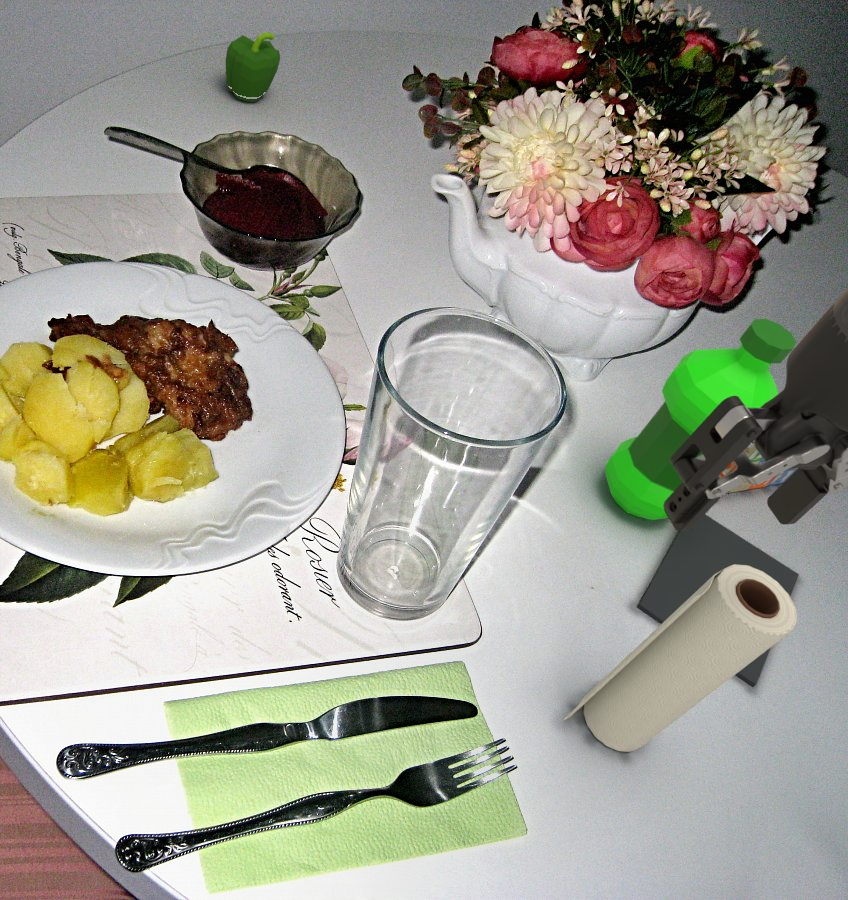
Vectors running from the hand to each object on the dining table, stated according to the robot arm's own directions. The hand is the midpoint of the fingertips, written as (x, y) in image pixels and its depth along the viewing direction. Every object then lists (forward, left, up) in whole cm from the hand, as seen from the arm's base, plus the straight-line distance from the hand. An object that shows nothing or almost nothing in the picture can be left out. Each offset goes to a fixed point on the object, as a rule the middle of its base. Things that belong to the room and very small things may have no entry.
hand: (727, 516), depth 60 cm
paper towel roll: (-5, -4, -29) cm, 30 cm away
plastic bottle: (+3, -32, -29) cm, 43 cm away
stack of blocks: (-7, -50, -29) cm, 58 cm away
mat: (-9, -27, -29) cm, 40 cm away
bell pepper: (+85, -64, -29) cm, 110 cm away
